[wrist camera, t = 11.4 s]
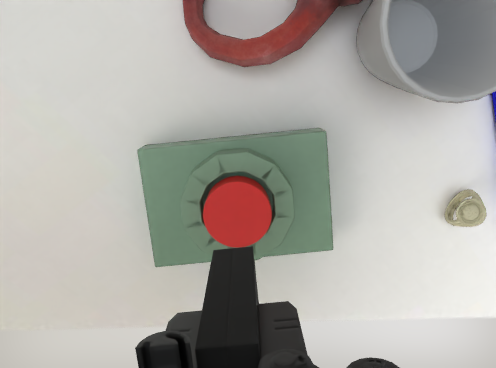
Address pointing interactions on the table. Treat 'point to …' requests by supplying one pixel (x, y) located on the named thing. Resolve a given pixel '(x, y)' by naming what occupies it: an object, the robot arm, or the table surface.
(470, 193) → the ring
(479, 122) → the table surface
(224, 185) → the button
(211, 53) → the red curved piece
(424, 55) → the cup
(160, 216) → the control block
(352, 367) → the robot arm
